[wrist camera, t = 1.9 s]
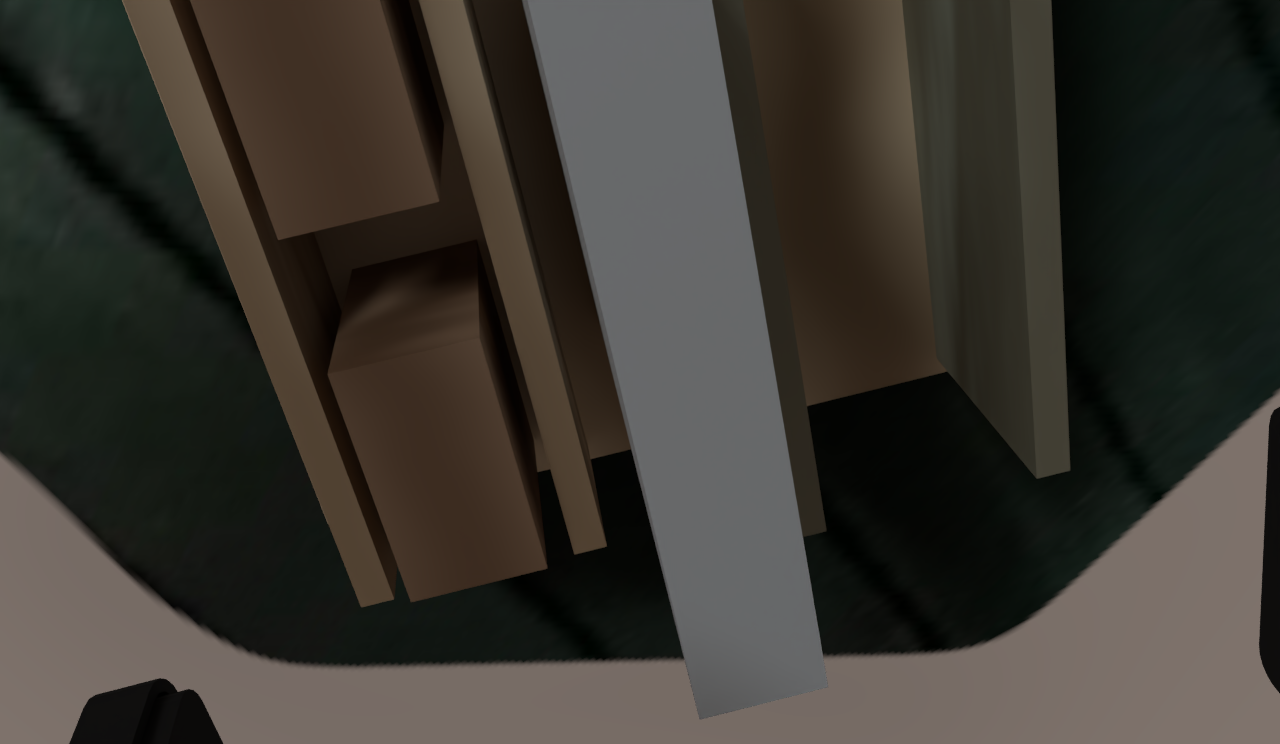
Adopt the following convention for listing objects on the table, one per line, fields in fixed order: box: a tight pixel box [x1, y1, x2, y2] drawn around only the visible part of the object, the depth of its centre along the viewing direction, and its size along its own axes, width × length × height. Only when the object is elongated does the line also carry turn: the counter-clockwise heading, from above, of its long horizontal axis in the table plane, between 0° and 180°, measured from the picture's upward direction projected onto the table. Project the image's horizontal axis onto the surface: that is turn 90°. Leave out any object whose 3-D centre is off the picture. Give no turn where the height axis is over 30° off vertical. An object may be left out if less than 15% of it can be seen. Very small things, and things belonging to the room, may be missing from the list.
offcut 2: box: [327, 240, 547, 602], centre depth 28 cm, size 3×6×6 cm, turn 12°
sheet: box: [522, 0, 828, 719], centre depth 22 cm, size 2×12×15 cm, turn 12°
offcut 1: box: [190, 0, 444, 240], centre depth 24 cm, size 3×6×6 cm, turn 12°
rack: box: [122, 0, 1070, 607], centre depth 27 cm, size 19×17×8 cm
